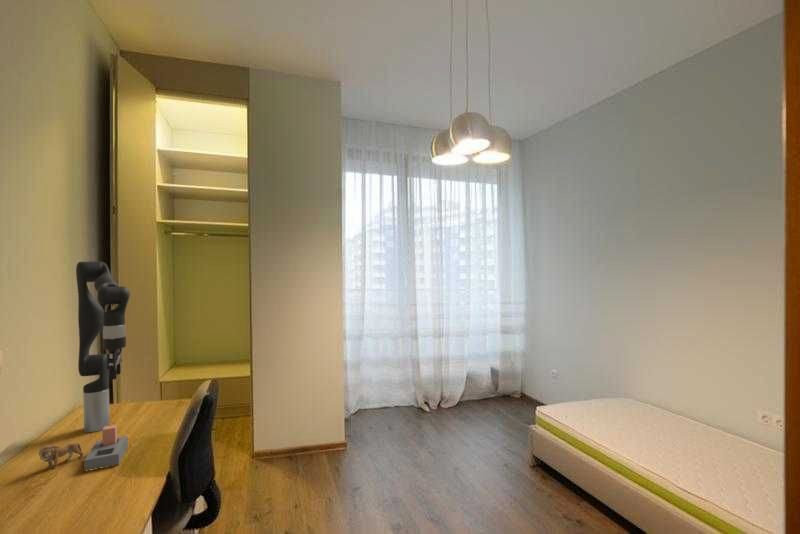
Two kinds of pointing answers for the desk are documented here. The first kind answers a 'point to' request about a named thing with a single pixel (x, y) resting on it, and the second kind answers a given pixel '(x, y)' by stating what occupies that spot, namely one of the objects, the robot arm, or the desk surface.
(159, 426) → the desk surface
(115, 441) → the peg
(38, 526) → the desk surface
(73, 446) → the lion figurine
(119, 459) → the pocket board
